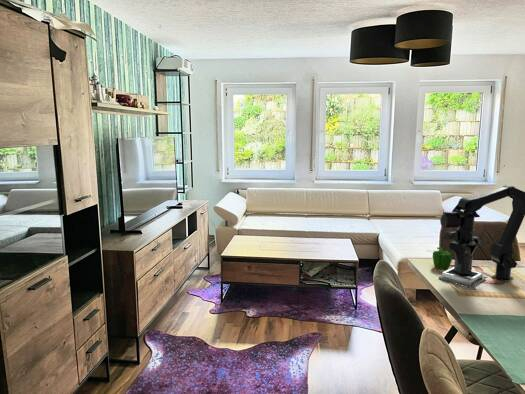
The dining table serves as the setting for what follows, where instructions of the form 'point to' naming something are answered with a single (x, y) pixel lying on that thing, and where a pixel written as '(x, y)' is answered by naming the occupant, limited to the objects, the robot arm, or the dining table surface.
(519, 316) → the dining table surface
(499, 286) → the dining table surface
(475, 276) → the gray square tray
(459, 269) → the supplement bottle
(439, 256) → the bell pepper
